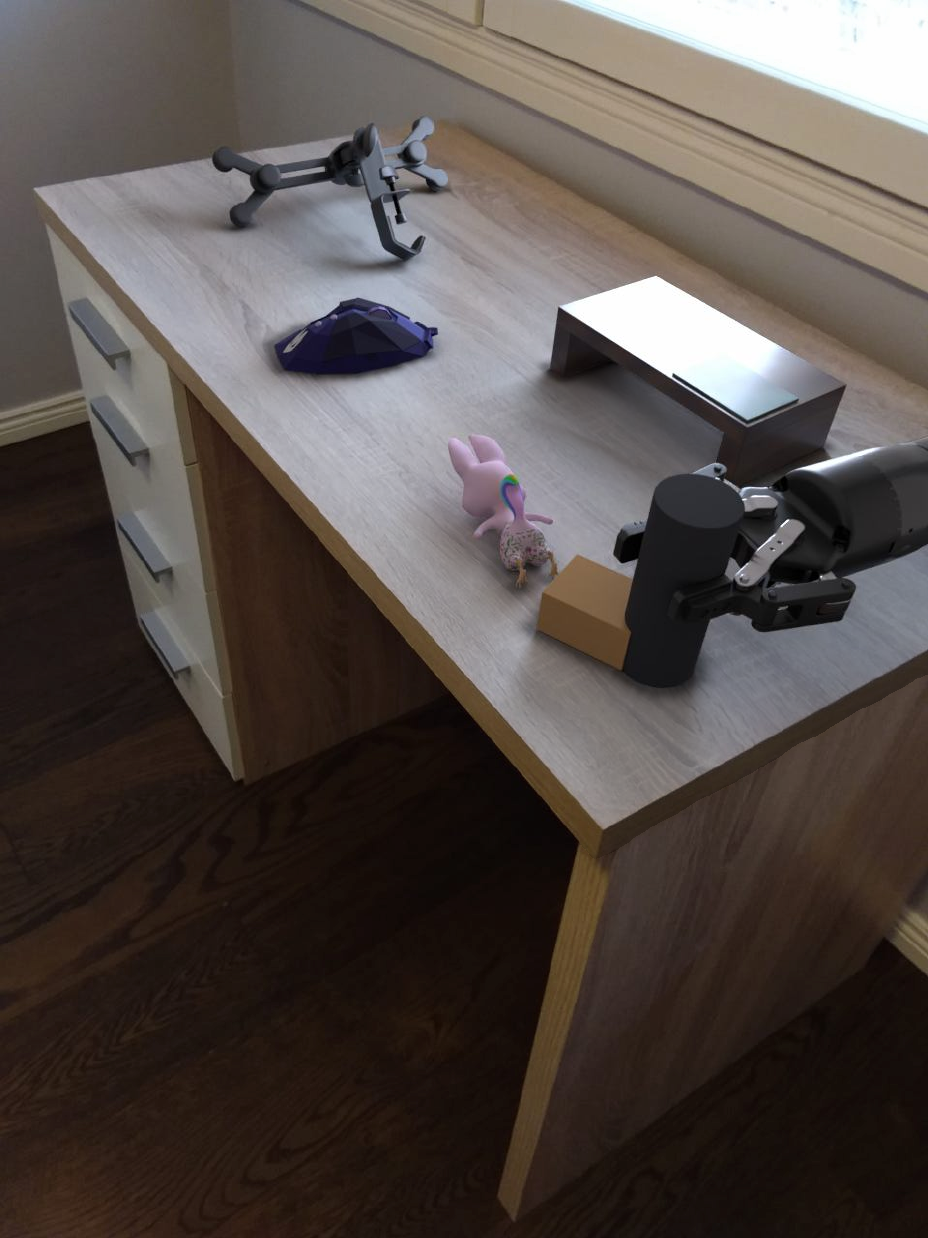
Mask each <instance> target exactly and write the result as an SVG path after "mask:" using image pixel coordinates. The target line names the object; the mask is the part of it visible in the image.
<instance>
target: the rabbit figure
mask: <svg viewBox="0 0 928 1238" xmlns="http://www.w3.org/2000/svg"><path fill="white" fill-rule="evenodd" d="M467 438H468V440H469V442H470V445H471V447H472V449H473V452H474V454H475V455H474V454H473V452H472V451H471V450H470V448H469V447H468V446H467V445H466V444H465V443H463V442H462V441H461V440H459V439H457V438H456V437H451V438H450V439H449V440H448V444H447V450H448V455H449V459H450V463H451V466H452V467H453V469H454V471H455V473H456V475H458V476H459V478H460V479H461V481H462V483H463V487H462V488H463V489H462V490H463V491H462V496H461V497H462V498H461V508H462V509H463V511H465V513H467V514H468V515H469V516H471V517H472V518H477V519H485V520H484V521H483V523H481V524H480V525H479V526H478V527H477V528H476V530H475V531H474V533H473V535H472V537H473V539H474V540H476V541H478V540H480V539H482V536H483V534H484V533H485V532H487V531H489V530H495V532H497V533H498V534H499V535H500V536H501V537H500V542H499V554H500V559H501V562H502V565H504V567H505V568H506V569H507V570H509V571H512V572H518V571H519V577H518V579H516V582H515V586H516V587H518V586H519V588H521V587H522V584H523V583H527V584H529V583H530V582H529V581H528V580H527V578H526V576H527V575H526V572H527V571H526V569H524V567H525V565H526V563H529V564H531V565H533V566H542V565H544V564H545V563H546V562H547V561H550V564H551V567H550V568H551V569H550V572H548V574H547V575H546V579H549V577H550V576H551V579H552V581H553V580H554V576H556V577H557V576H558V575H559V571H558V566H557V565H559V563H558V562H556V561H555V559H554V552H553V550H551V548H550V545H549V543H548V541H547V538H546V536H545V533H544V532H543V531H542V529H541V528H540V527H539V526H538V525H536V524H535V523H533V522H541V523H543V524H544V525H548V526H550V525H552V524H553V523H554V519H553V518H552V517H550V516H548V515H545V514H541V513H536V512H529V511H525V509H524V508H525V503H524V502H525V500H526V498H527V490H526V488H525V487H524V486H523V485H522V484H521V483H520V481H519V479H518V476H517V475H515V474H514V473H513V471H512V470H511V469H510V468H509V466H507V465H506V462H507V461H506V460H507V459H506V456H505V453H504V451H503V449H502V448H501V447H500V445H499V444H498V443H497V442H496V441H495V440H494V439H493V438H491V437H488V436H486V435H481V434H469V435H468V437H467ZM475 456H476V457H475ZM477 459H478V460H477Z"/></svg>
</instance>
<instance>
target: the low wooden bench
mask: <svg viewBox="0 0 928 1238" xmlns="http://www.w3.org/2000/svg"><path fill="white" fill-rule="evenodd" d="M611 361H613V362H615V363H616V364H618V365H619V366H621V367H622V368H624V369H625V370H627V371H628V372H630V374H633V375H635V376H636V377H638V378H639V379H640V380H642V381H644V382H645V383H646V384H648V385H650V386H651V387H653V388H654V389H656V390H657V391H659V392H661V393H662V394H664V395H665V396H666V397H668V398H670V399H671V400H673V401H674V402H675V403H677V404H679V405H680V406H682V407H683V408H684V409H686V410H688V411H690V413H692V414H694V415H695V416H697V417H699V418H700V419H702V420H703V421H705V422H706V423H708V424H709V425H710V426H713V427H714V428H715V429H717V430H719V431H720V432H722V433H723V434H722V438H721V440H720V444H719V448H718V451H717V454H716V457H715V461H714V463H719V464H722V465H724V466H725V467H726V468H727V472H726V475H725V479H726V480H727V481H729V482H730V483H732V484H733V485H735V486H736V487H738V488H740V487H741V486H742V485H745V484H747V483H750V482H751V481H753V480H756V479H759V478H760V477H762V476H764V475H766V474H768V473H770V472H772V471H775V470H777V469H778V468H781V467H783V466H785V465H788V464H790V463H791V462H793V461H795V460H798V459H799V458H802V457H805V456H806V455H808V454H810V453H813V452H814V451H817V450H819V449H821V448H823V447H825V444H826V441H827V439H828V436H829V433H830V431H831V428H832V425H833V422H834V420H835V417H836V414H837V412H838V410H839V406H840V404H841V402H842V399H843V397H844V393H845V390H846V388H847V386H848V384H847V383H845V382H843V381H842V380H841V379H838V378H836V377H835V376H833V375H831V374H830V373H827V372H826V371H824V370H822V369H821V368H819V367H817V366H815V365H814V364H812V363H810V362H808V361H807V360H805V359H804V358H801V357H800V356H798V355H796V354H794V353H792V352H791V351H789V350H787V349H785V348H784V347H782V346H780V345H778V344H777V343H775V342H773V341H771V340H769V339H768V338H766V337H764V336H762V335H760V334H759V333H757V332H755V331H754V330H752V329H750V328H749V327H747V326H745V325H743V324H742V323H739V322H738V321H736V320H734V319H733V318H731V317H729V316H727V315H726V314H724V313H723V312H720V311H718V310H717V309H715V308H714V307H711V306H710V305H707V304H706V303H705V302H703V301H701V300H699V299H697V298H696V297H694V296H692V295H690V294H688V293H687V292H685V291H683V290H681V289H680V288H678V287H676V286H674V285H672V284H671V283H669V282H667V281H665V280H664V279H662V278H661V277H658V276H657V275H655V276H652V277H648V278H646V279H641V280H639V281H636V282H632V283H629V284H626V285H623V286H620V287H616V288H613V289H611V290H607V291H604V292H600V293H597V294H594V295H591V296H587V297H585V298H581V299H577V300H575V301H572V302H569V303H568V302H567V303H565V304H562V305H559V306H558V307H557V313H556V319H555V327H554V335H553V342H552V350H551V357H550V365H549V368H550V369H551V370H553V371H554V372H555V373H557V374H558V375H560V376H561V377H563V378H565V377H569V376H572V375H574V374H577V373H580V372H582V371H585V370H588V369H591V368H594V367H597V366H599V365H602V364H606V363H609V362H611Z"/></svg>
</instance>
